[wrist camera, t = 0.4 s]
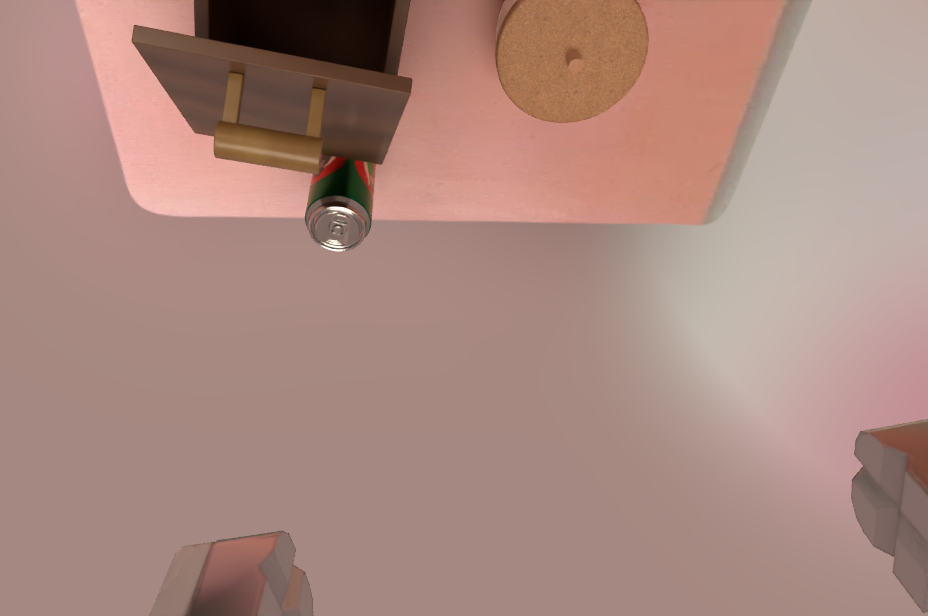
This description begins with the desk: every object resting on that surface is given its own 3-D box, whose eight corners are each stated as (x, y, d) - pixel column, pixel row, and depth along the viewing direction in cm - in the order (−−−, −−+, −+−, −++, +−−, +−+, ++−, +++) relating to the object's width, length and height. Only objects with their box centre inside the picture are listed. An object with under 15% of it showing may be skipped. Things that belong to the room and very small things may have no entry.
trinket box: (486, 78, 59) (496, 137, 53) (488, -61, 52) (500, -13, 45) (615, 74, 60) (641, 132, 53) (635, -65, 52) (668, -18, 46)
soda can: (313, 162, 64) (297, 246, 55) (325, 113, 61) (310, 195, 52) (368, 177, 65) (361, 262, 57) (383, 130, 62) (378, 212, 54)
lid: (133, 24, 32) (118, 133, 32) (412, 78, 35) (399, 179, 35) (196, 121, 49) (186, 194, 49) (383, 153, 51) (374, 222, 51)
